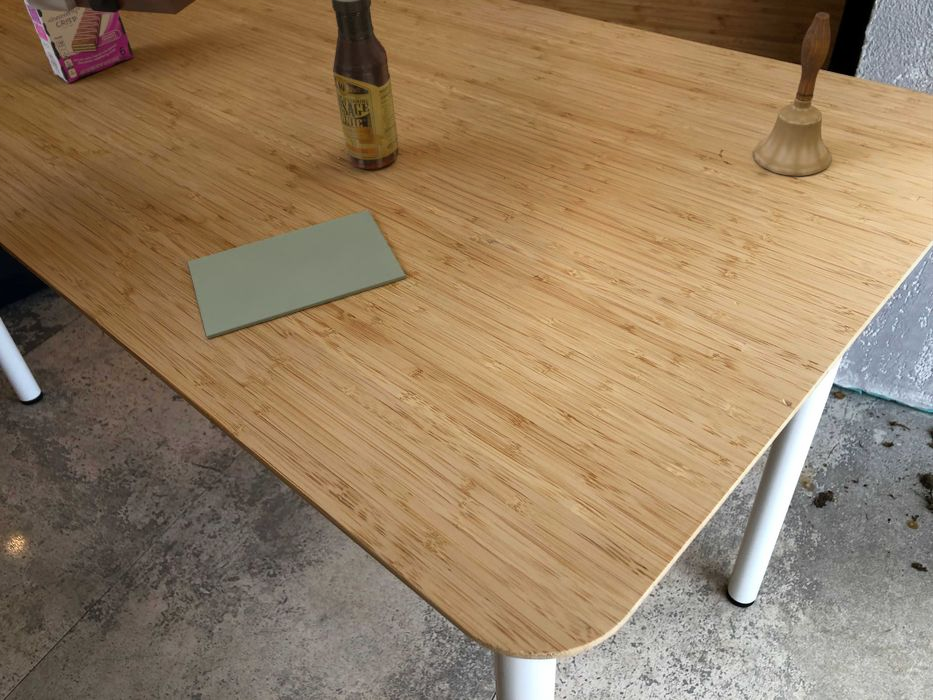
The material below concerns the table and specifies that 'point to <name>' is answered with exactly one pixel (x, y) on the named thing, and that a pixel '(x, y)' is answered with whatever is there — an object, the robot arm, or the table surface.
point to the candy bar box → (81, 40)
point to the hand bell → (800, 115)
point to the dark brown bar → (165, 3)
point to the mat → (292, 272)
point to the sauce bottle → (363, 88)
